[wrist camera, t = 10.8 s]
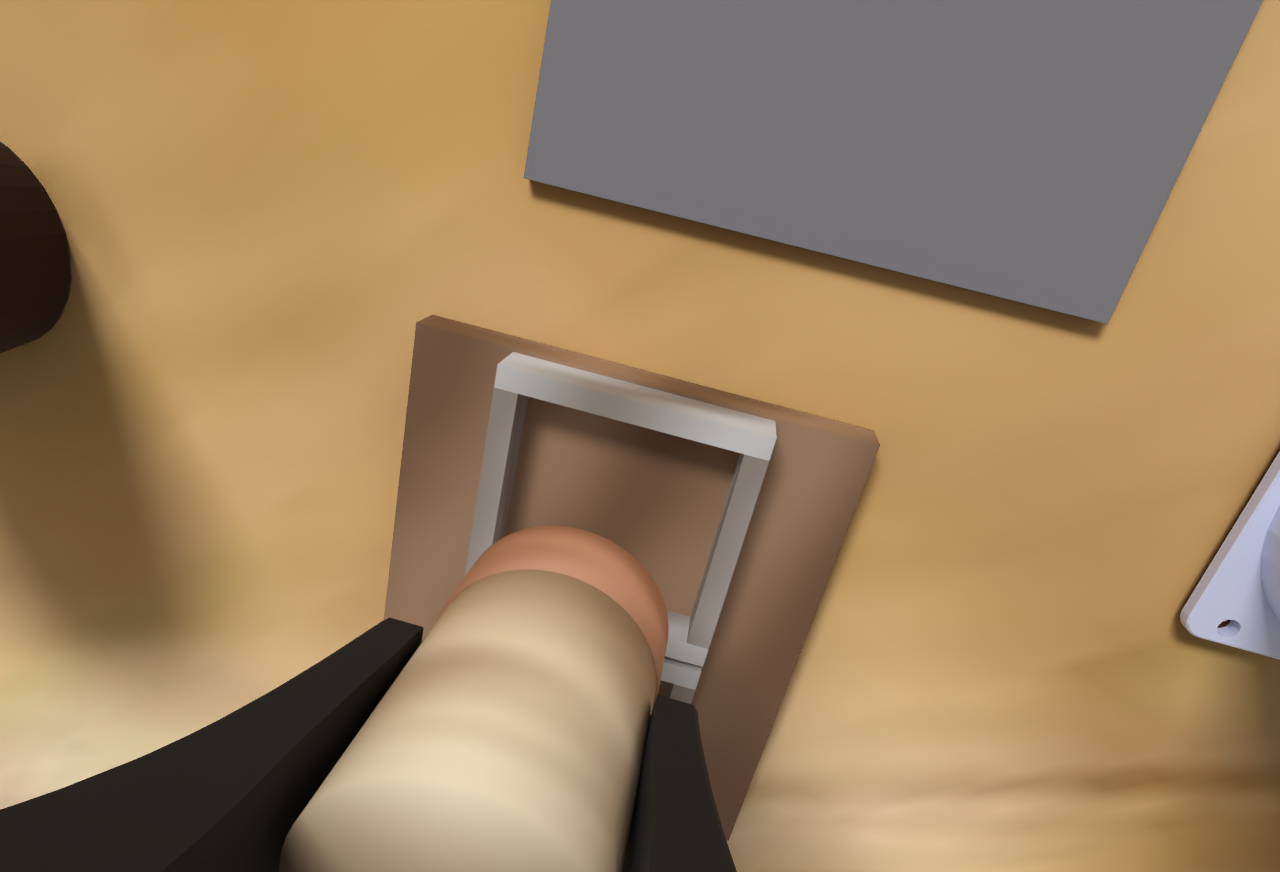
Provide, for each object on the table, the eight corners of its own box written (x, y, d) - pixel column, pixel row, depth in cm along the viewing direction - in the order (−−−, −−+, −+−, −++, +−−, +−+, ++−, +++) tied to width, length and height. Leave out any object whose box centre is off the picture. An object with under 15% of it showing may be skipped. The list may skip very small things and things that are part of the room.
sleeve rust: (641, 730, 15) (573, 1072, 9) (449, 674, 15) (268, 973, 9) (692, 559, 13) (648, 843, 8) (478, 500, 13) (283, 732, 8)
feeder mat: (1350, -206, 13) (1367, -217, 13) (1099, 320, 17) (1107, 323, 17) (612, -357, 14) (608, -371, 14) (528, 178, 18) (523, 178, 17)
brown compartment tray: (873, 430, 19) (888, 463, 17) (729, 814, 24) (727, 874, 22) (432, 314, 19) (395, 332, 17) (386, 712, 25) (352, 761, 23)
